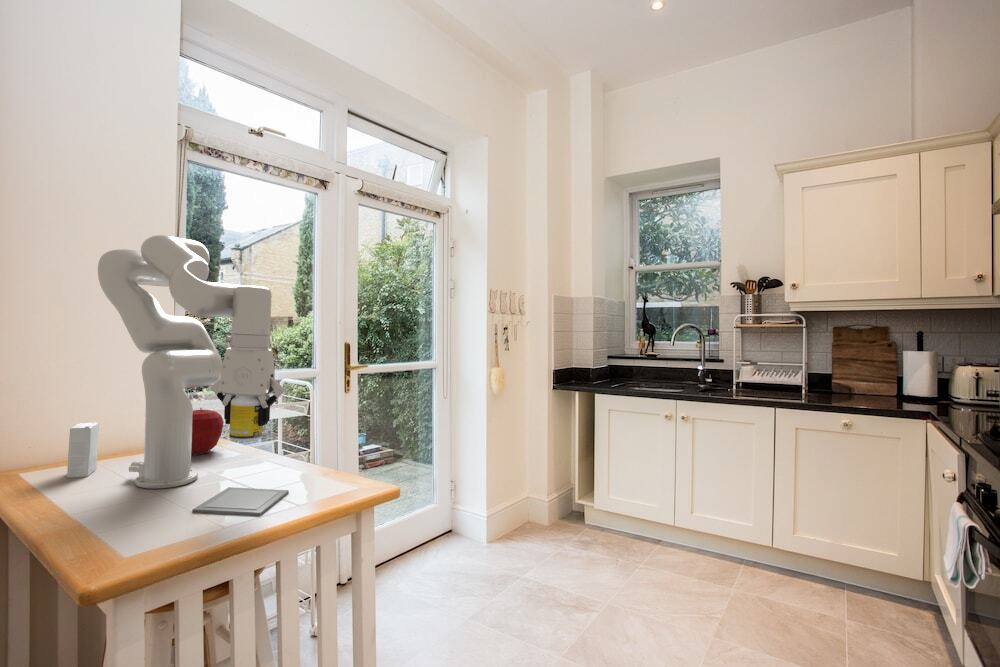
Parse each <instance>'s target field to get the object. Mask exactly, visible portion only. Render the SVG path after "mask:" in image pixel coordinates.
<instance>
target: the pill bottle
mask: <svg viewBox="0 0 1000 667" xmlns="http://www.w3.org/2000/svg"><path fill="white" fill-rule="evenodd" d="M259 408H261V403H260V400H259V398H258V396H246V395H237V397H234V398H233V399H232V401H231V410H230V424H229V432H228V433H229V435H228V437H229V439H230V440H231V441H234V442H241V443H242V442H252V441H257V440H260V439H261V438H262V436H263V426H259V425H258V418H259Z"/></svg>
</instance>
